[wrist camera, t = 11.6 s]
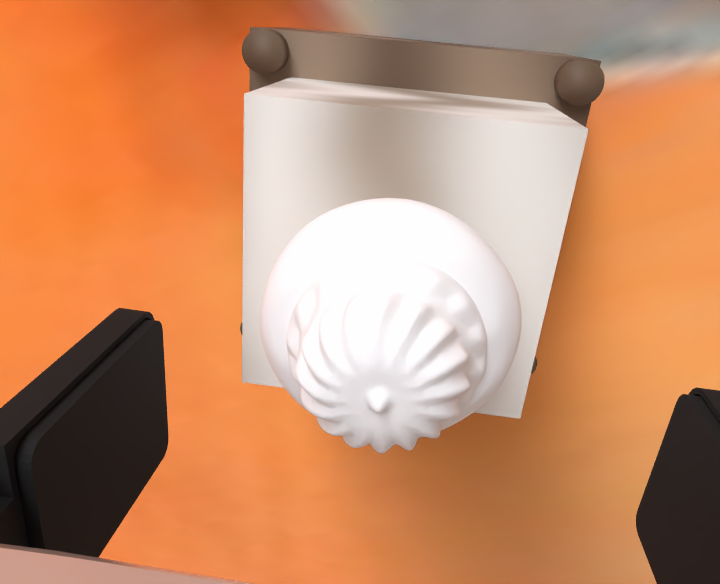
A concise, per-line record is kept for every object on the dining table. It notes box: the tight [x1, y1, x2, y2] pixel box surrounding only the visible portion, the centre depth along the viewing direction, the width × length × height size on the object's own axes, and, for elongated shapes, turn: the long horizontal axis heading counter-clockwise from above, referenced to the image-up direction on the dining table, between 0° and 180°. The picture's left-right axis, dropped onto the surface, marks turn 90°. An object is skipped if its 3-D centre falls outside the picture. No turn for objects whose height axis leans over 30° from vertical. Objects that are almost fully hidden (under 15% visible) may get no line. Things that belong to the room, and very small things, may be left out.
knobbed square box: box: [240, 27, 604, 419], centre depth 23 cm, size 12×12×12 cm
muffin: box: [260, 198, 522, 453], centre depth 14 cm, size 6×6×7 cm
